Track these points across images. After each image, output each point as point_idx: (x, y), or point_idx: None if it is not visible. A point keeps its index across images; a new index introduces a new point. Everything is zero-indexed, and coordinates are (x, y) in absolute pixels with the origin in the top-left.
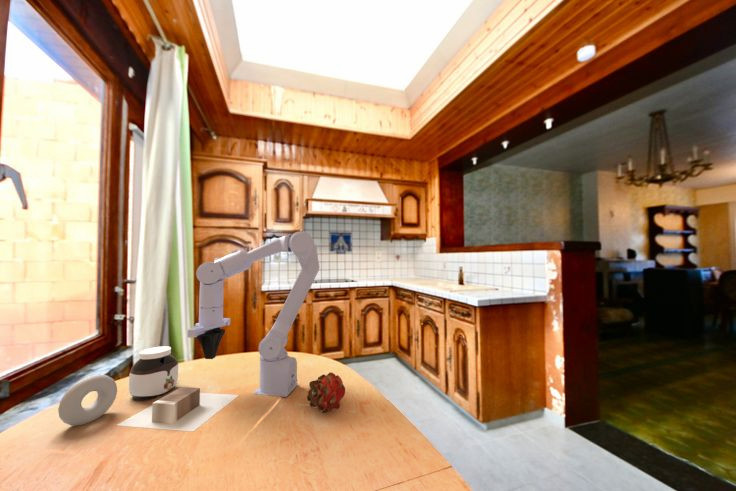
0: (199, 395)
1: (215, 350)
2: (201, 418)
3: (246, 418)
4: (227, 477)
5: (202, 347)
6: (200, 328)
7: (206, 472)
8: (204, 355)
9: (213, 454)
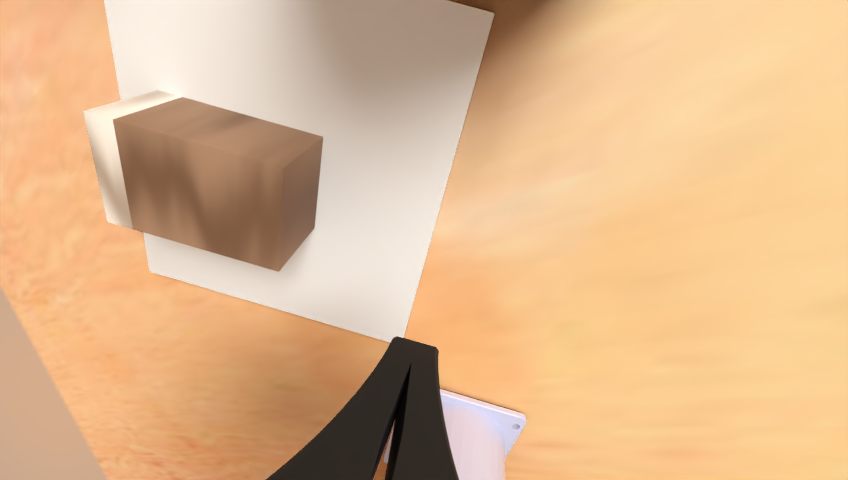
0: (293, 250)
1: (389, 452)
2: (219, 269)
3: (258, 375)
4: (61, 369)
5: (338, 414)
6: None
7: (54, 335)
8: (385, 354)
9: (103, 334)
